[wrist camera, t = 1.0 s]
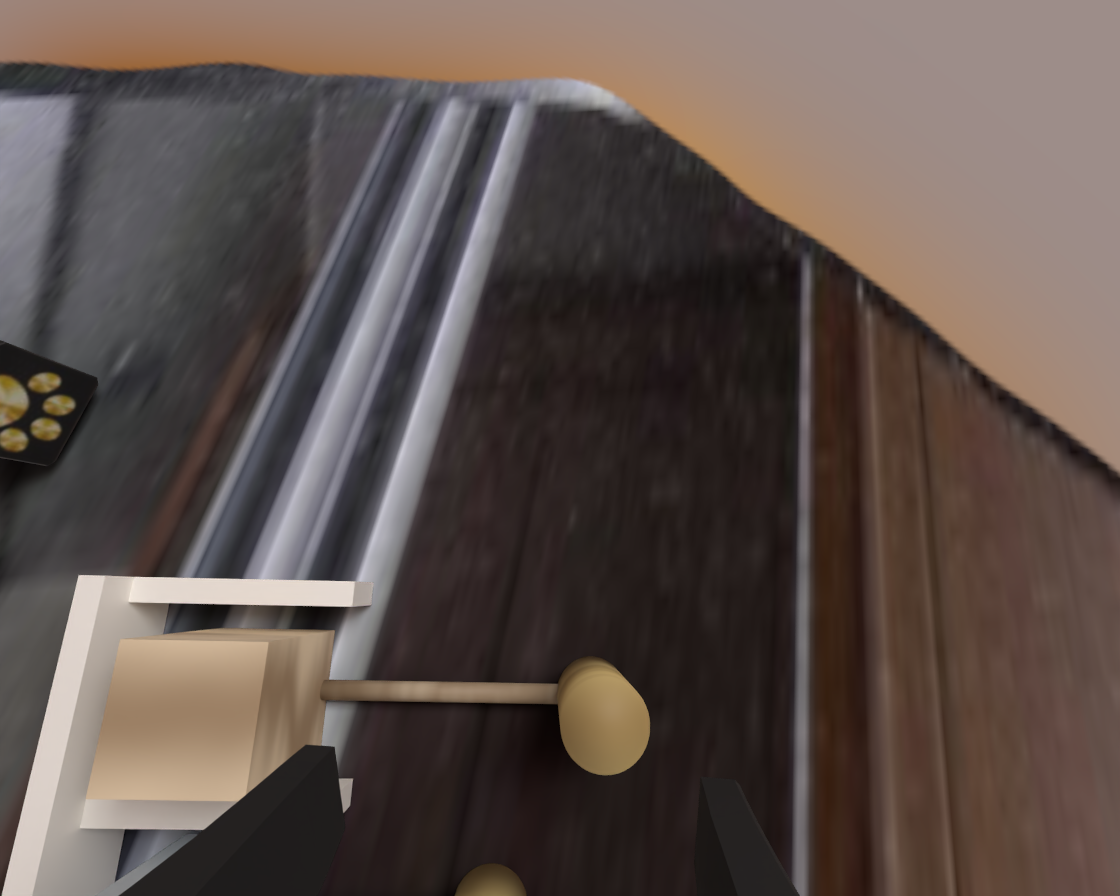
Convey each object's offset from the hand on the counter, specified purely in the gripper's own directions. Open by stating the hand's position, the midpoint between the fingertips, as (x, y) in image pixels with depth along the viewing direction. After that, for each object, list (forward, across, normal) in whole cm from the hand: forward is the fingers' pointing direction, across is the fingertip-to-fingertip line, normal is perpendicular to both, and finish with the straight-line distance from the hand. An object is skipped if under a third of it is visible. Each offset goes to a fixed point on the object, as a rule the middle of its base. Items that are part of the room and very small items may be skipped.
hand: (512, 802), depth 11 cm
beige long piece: (+11, +6, +7) cm, 15 cm away
